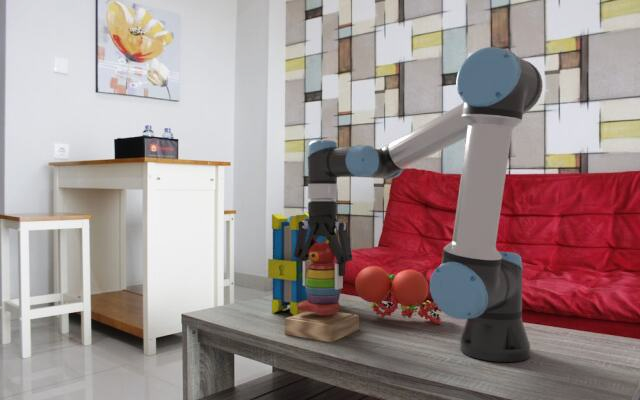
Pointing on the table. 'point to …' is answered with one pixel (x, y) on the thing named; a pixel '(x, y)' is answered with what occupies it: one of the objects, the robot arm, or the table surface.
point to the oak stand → (322, 325)
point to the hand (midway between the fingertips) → (322, 286)
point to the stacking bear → (321, 281)
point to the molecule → (396, 292)
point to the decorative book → (287, 263)
